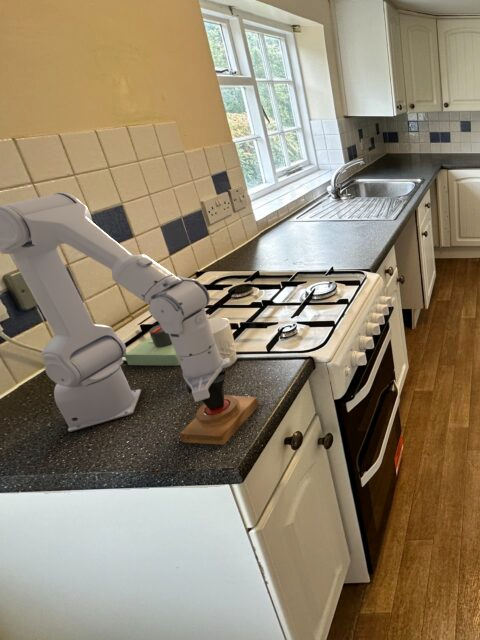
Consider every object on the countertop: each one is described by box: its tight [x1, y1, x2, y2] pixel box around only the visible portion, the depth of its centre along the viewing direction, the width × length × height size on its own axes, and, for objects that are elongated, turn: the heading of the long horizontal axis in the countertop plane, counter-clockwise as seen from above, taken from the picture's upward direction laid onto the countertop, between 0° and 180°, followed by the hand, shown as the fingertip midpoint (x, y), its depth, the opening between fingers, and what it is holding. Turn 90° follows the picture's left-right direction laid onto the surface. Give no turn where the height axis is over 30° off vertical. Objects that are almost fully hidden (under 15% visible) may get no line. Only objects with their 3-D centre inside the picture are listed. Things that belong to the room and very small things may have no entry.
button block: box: [179, 394, 260, 446], centre depth 79 cm, size 10×8×4 cm
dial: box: [148, 324, 172, 347], centre depth 98 cm, size 4×4×4 cm
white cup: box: [208, 317, 238, 369], centre depth 95 cm, size 8×8×10 cm
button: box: [206, 400, 229, 415], centre depth 78 cm, size 4×4×2 cm
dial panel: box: [124, 335, 181, 366], centre depth 100 cm, size 12×10×3 cm
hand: (217, 406), depth 78 cm, fingers closed, pressing on button
